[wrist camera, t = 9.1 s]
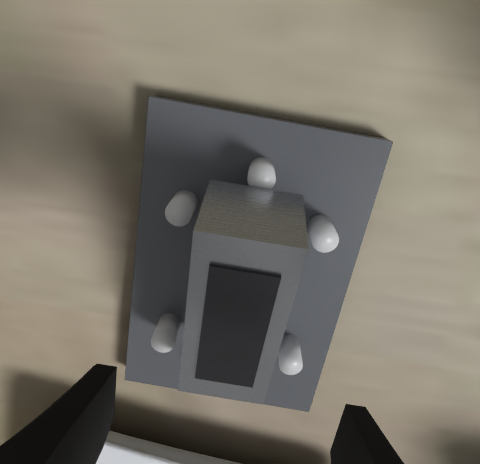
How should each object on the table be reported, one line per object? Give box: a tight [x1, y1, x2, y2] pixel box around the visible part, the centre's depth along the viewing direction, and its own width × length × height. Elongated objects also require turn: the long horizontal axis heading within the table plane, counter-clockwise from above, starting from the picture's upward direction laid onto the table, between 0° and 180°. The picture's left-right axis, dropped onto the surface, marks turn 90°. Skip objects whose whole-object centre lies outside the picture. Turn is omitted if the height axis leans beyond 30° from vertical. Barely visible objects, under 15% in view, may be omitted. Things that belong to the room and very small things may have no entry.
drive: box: [178, 180, 309, 404], centre depth 18 cm, size 4×9×4 cm, turn 171°
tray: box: [125, 95, 393, 412], centre depth 20 cm, size 11×16×3 cm
